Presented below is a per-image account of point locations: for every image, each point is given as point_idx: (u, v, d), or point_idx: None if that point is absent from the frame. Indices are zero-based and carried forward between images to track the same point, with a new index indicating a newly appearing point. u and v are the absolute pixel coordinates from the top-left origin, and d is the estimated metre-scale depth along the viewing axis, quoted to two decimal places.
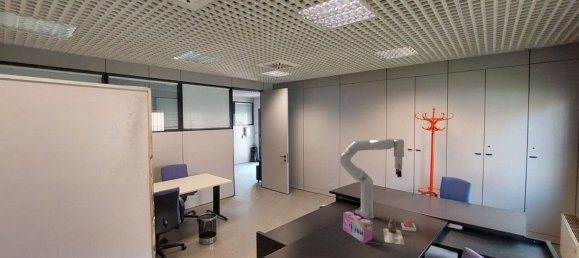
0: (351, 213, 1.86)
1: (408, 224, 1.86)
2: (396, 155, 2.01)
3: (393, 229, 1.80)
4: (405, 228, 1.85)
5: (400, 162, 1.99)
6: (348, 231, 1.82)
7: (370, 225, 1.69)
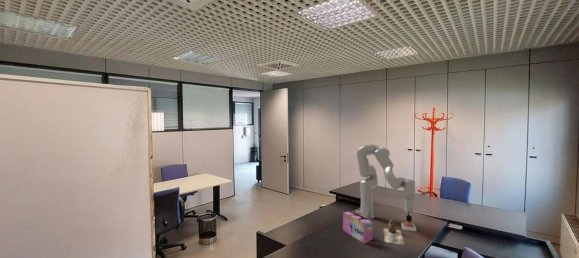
0: (351, 213, 1.86)
1: (408, 225, 1.86)
2: (406, 197, 1.85)
3: (393, 229, 1.80)
4: (405, 228, 1.85)
5: (411, 206, 1.83)
6: (348, 231, 1.81)
7: (370, 225, 1.69)
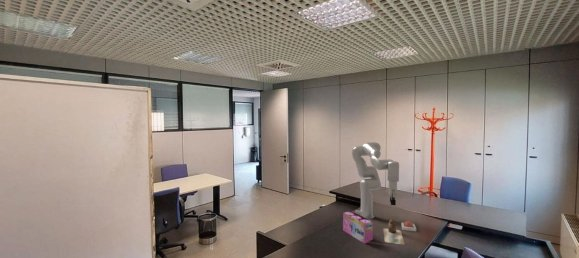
0: (351, 213, 1.85)
1: (408, 225, 1.86)
2: (390, 179, 1.79)
3: (393, 229, 1.80)
4: (405, 228, 1.85)
5: (394, 188, 1.76)
6: (348, 231, 1.81)
7: (370, 226, 1.69)
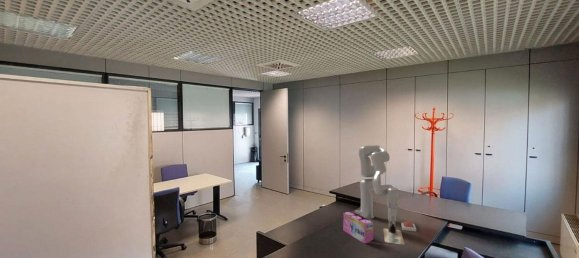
0: (351, 213, 1.85)
1: (408, 225, 1.86)
2: (389, 206, 1.79)
3: None
4: (405, 228, 1.85)
5: (394, 215, 1.77)
6: (348, 232, 1.81)
7: (371, 226, 1.68)
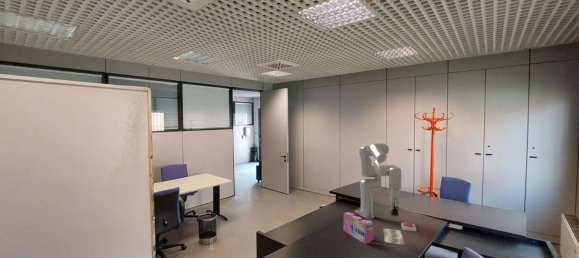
0: (351, 214, 1.85)
1: (408, 225, 1.86)
2: (392, 187, 1.65)
3: None
4: (405, 228, 1.85)
5: (396, 196, 1.63)
6: (349, 232, 1.80)
7: (371, 226, 1.68)
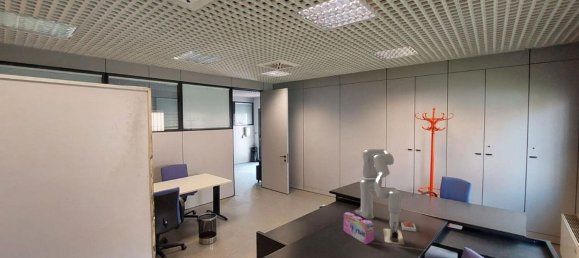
0: (351, 214, 1.85)
1: (408, 225, 1.86)
2: (391, 211, 1.66)
3: None
4: (405, 228, 1.85)
5: (396, 220, 1.63)
6: (349, 232, 1.80)
7: (371, 226, 1.68)
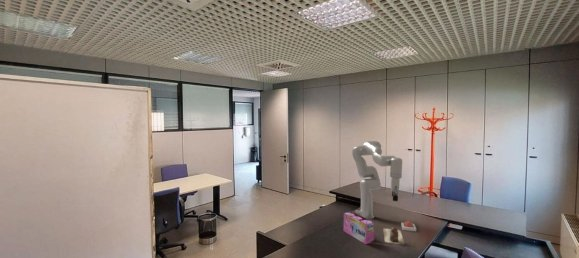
0: (352, 214, 1.84)
1: (408, 225, 1.86)
2: (392, 176, 1.78)
3: (395, 238, 1.66)
4: (405, 228, 1.85)
5: (397, 184, 1.76)
6: (349, 232, 1.80)
7: (372, 226, 1.68)
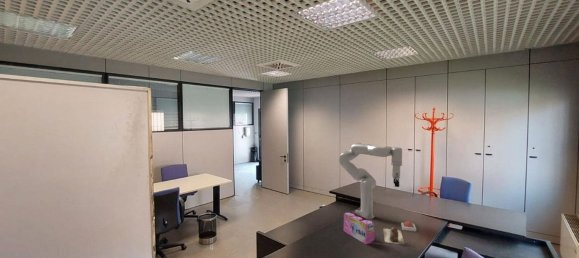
0: (352, 214, 1.84)
1: (408, 225, 1.86)
2: (394, 164, 1.95)
3: (395, 238, 1.66)
4: (405, 228, 1.85)
5: (398, 171, 1.93)
6: (349, 232, 1.79)
7: (372, 226, 1.68)
